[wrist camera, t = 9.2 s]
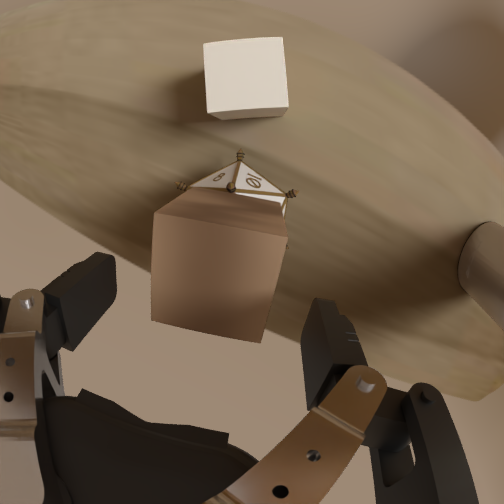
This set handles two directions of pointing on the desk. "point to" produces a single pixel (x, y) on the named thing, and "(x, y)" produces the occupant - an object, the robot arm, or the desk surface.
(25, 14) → the desk surface
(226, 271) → the walnut block
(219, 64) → the white block
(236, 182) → the game die
